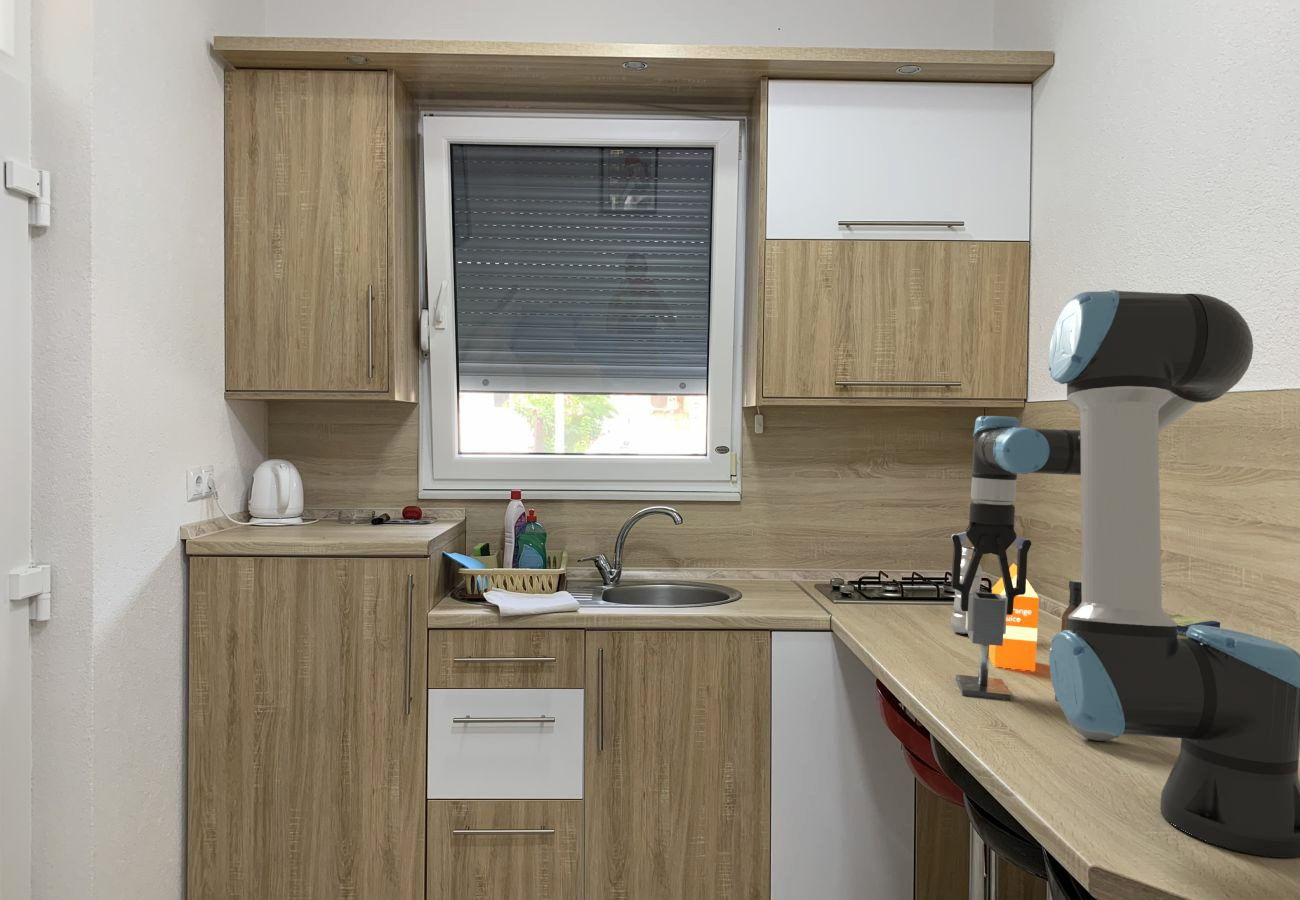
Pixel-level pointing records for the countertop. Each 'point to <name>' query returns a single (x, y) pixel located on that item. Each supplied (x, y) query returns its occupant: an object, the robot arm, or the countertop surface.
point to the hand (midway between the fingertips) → (985, 630)
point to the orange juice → (1018, 629)
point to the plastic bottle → (958, 615)
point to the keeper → (983, 680)
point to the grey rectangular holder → (987, 619)
